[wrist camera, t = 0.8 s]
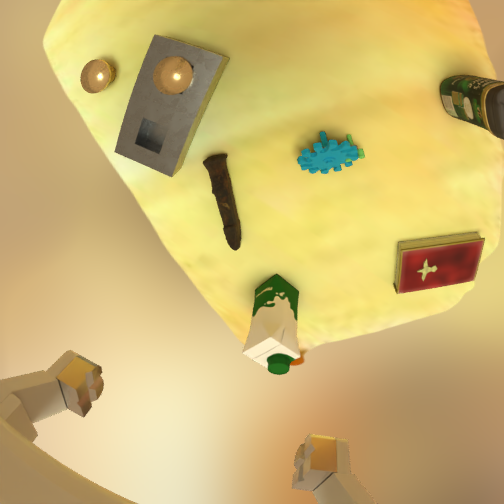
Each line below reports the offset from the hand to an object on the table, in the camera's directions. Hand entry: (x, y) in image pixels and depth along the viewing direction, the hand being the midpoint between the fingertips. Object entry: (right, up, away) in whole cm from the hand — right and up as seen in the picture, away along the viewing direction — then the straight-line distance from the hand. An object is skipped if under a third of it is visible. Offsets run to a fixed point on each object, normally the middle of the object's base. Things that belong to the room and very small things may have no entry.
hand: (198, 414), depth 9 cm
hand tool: (-2, +16, +46) cm, 49 cm away
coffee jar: (+39, +34, +27) cm, 58 cm away
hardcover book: (+43, +5, +47) cm, 64 cm away
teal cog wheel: (+15, +23, +38) cm, 47 cm away
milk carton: (+8, -3, +57) cm, 58 cm away
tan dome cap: (-25, +39, +33) cm, 56 cm away
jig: (-12, +32, +36) cm, 49 cm away
